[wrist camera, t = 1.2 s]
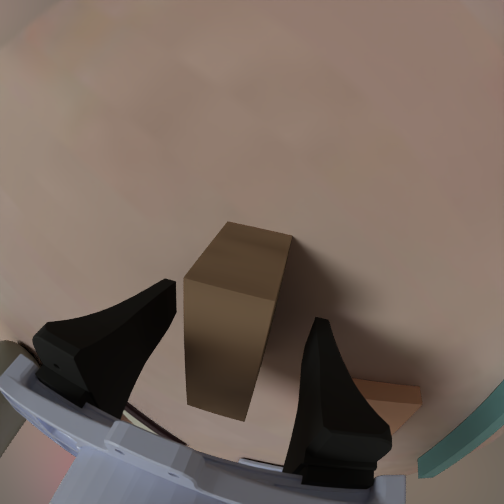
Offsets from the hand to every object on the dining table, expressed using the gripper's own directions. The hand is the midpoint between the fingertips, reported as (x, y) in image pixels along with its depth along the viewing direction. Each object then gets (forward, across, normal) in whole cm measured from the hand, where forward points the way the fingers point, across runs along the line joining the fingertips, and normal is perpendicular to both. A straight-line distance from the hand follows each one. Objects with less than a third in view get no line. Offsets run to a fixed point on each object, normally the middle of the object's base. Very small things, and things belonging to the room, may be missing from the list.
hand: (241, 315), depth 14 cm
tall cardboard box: (+2, 0, 0) cm, 2 cm away
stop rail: (+1, -22, +7) cm, 23 cm away
